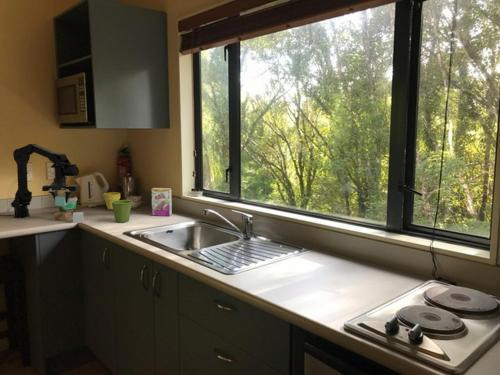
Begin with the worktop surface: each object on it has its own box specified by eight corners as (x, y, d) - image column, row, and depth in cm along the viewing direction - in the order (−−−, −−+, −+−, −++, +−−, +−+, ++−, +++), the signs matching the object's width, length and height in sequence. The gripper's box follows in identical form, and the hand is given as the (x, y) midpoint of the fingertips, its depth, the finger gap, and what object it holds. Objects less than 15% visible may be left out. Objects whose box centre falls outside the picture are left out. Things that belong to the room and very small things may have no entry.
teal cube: (55, 205, 238) (55, 197, 237) (59, 204, 243) (58, 195, 242) (64, 205, 238) (64, 197, 237) (68, 204, 243) (67, 195, 242)
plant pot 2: (125, 224, 230) (124, 204, 228) (106, 222, 234) (106, 202, 232) (137, 220, 241) (137, 200, 240) (119, 218, 245) (119, 199, 243)
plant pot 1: (104, 210, 270) (103, 195, 269) (104, 207, 280) (103, 192, 278) (121, 209, 273) (120, 194, 272) (120, 206, 283) (119, 192, 282)
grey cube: (73, 223, 233) (72, 214, 232) (74, 221, 237) (73, 212, 237) (82, 222, 234) (82, 213, 233) (83, 220, 239) (83, 212, 238)
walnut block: (53, 221, 238) (53, 214, 238) (60, 218, 245) (59, 211, 244) (65, 221, 237) (65, 214, 237) (71, 218, 244) (71, 212, 244)
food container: (63, 216, 250) (62, 199, 249) (57, 215, 254) (56, 198, 253) (82, 213, 260) (81, 197, 259) (76, 212, 264) (75, 196, 262)
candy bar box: (151, 216, 253) (150, 188, 251) (154, 214, 258) (153, 187, 256) (169, 216, 252) (169, 189, 250) (172, 214, 257) (171, 188, 255)
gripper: (36, 177, 230) (38, 205, 232) (71, 177, 230) (72, 205, 232) (45, 175, 241) (47, 202, 243) (79, 175, 241) (80, 202, 243)
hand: (61, 203), depth 240 cm, fingers closed on teal cube, 5 cm apart
